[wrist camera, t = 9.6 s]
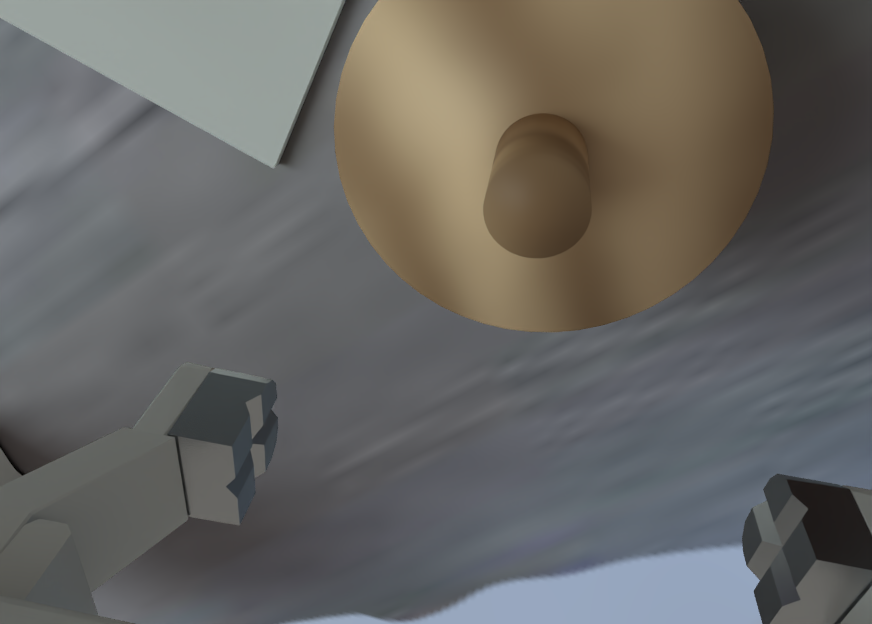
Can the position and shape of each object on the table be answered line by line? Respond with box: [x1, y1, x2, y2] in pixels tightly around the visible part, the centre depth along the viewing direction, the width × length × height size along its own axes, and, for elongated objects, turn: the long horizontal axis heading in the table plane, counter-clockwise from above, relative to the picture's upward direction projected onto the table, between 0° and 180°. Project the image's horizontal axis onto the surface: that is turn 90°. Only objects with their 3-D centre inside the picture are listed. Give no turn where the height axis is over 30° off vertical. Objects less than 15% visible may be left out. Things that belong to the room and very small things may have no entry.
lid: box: [334, 0, 774, 332], centre depth 21 cm, size 14×14×5 cm
